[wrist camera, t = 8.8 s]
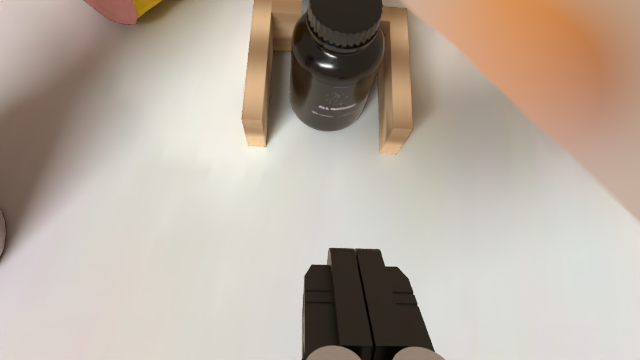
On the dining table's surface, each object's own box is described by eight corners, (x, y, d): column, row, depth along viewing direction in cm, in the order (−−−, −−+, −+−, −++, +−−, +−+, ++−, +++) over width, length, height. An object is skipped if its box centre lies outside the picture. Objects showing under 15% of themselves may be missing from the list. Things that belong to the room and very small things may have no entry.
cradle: (396, 154, 35) (414, 126, 30) (248, 145, 34) (240, 116, 29) (392, 45, 39) (408, 4, 34) (258, 35, 38) (254, -8, 33)
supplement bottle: (325, 148, 35) (342, 68, 23) (274, 96, 36) (267, -5, 25) (379, 104, 36) (420, 9, 25) (329, 55, 38) (346, -55, 26)
